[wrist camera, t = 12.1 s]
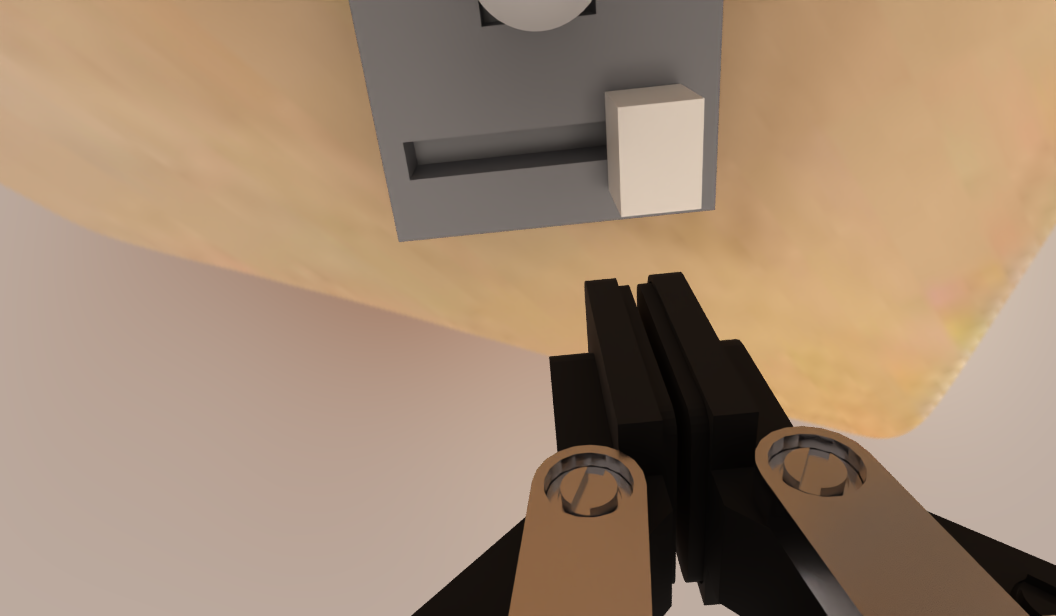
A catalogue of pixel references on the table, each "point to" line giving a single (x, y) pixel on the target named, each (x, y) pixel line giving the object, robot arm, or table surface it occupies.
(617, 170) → the white block
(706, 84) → the panel
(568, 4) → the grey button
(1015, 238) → the table surface
